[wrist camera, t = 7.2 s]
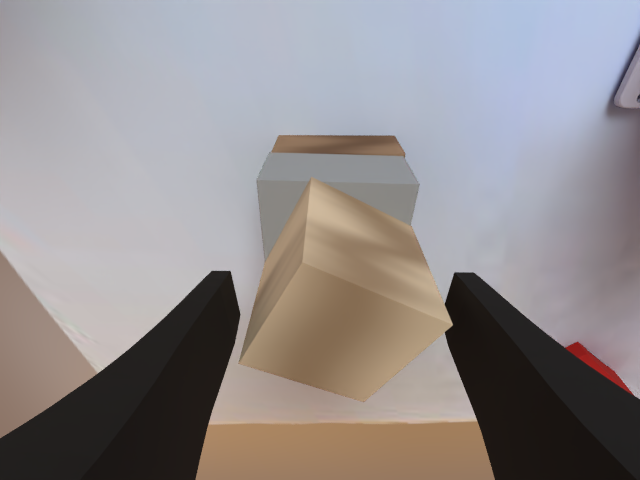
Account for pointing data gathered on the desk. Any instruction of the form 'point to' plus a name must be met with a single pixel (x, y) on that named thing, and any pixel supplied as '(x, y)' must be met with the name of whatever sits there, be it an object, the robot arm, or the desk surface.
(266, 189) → the slate-grey top block
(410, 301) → the birch block
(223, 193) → the desk surface
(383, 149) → the walnut base block
